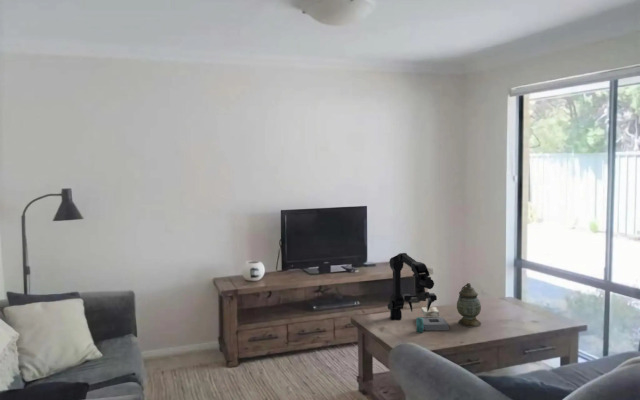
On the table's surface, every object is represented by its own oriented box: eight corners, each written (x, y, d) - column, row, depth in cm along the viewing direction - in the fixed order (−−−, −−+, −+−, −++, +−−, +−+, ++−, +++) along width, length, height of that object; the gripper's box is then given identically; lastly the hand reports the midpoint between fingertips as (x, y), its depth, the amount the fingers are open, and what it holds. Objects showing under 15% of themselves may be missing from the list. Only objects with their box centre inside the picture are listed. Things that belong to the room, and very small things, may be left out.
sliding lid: (424, 316, 304) (424, 311, 304) (421, 312, 313) (421, 307, 313) (438, 316, 304) (438, 311, 304) (435, 311, 313) (435, 307, 313)
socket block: (424, 330, 290) (424, 324, 290) (420, 322, 304) (420, 317, 304) (448, 330, 290) (448, 324, 290) (443, 322, 304) (443, 316, 304)
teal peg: (417, 333, 287) (417, 319, 286) (415, 330, 291) (415, 317, 290) (424, 332, 286) (423, 319, 286) (422, 330, 290) (422, 317, 290)
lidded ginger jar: (482, 327, 292) (482, 286, 290) (457, 326, 295) (457, 285, 293) (479, 320, 306) (479, 280, 304) (456, 319, 309) (455, 280, 307)
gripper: (405, 289, 278) (405, 316, 280) (438, 288, 278) (438, 315, 279) (402, 284, 290) (402, 310, 291) (434, 283, 289) (434, 309, 290)
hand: (419, 311), depth 288 cm, fingers open, 9 cm apart
